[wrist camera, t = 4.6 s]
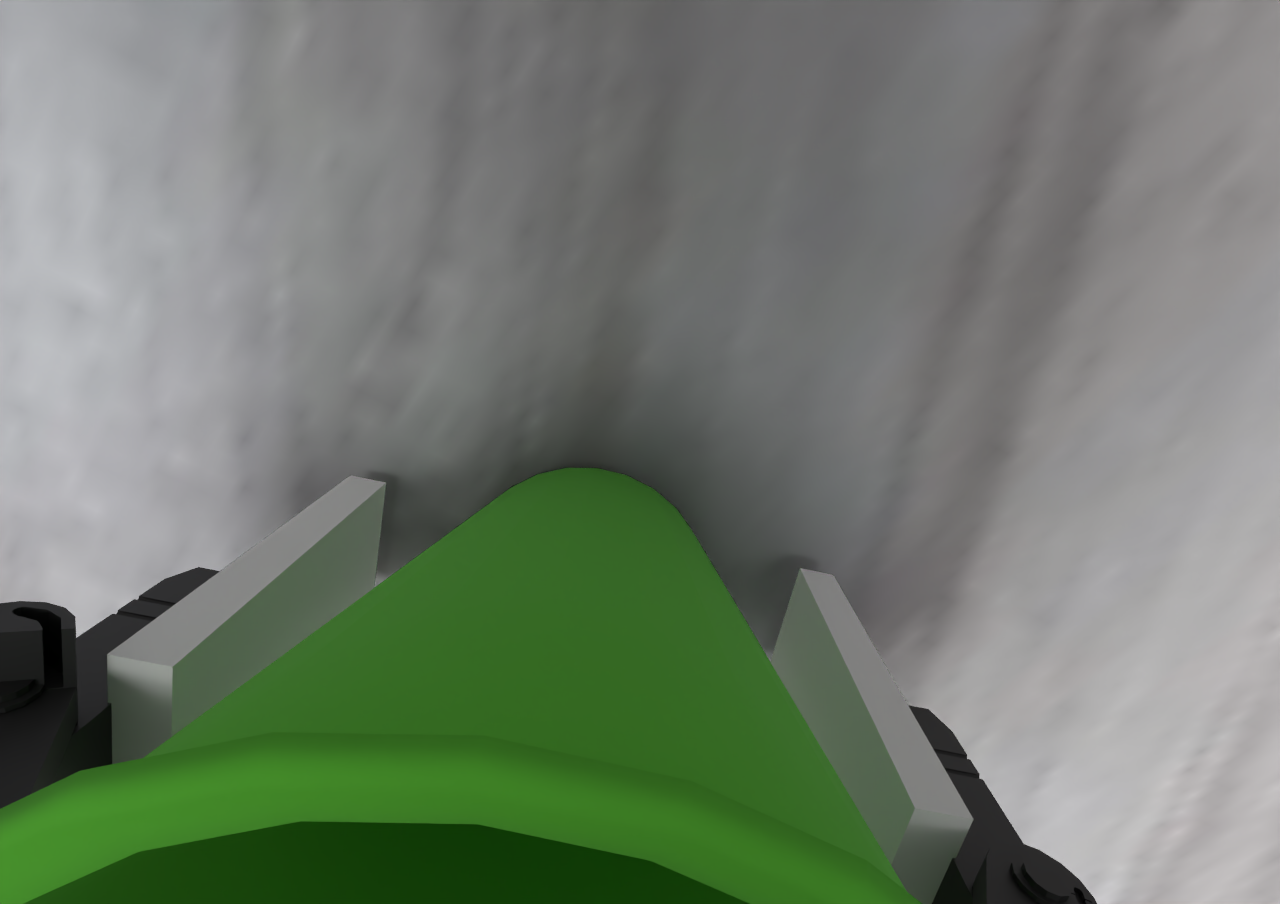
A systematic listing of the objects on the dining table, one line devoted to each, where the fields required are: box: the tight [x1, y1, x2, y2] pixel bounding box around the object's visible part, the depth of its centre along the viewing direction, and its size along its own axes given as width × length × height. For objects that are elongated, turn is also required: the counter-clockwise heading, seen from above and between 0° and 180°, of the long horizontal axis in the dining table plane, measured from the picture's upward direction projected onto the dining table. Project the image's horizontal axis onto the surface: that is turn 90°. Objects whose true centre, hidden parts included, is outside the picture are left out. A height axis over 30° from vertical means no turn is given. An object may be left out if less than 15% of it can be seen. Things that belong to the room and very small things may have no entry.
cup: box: [0, 468, 922, 904], centre depth 10 cm, size 9×9×11 cm
